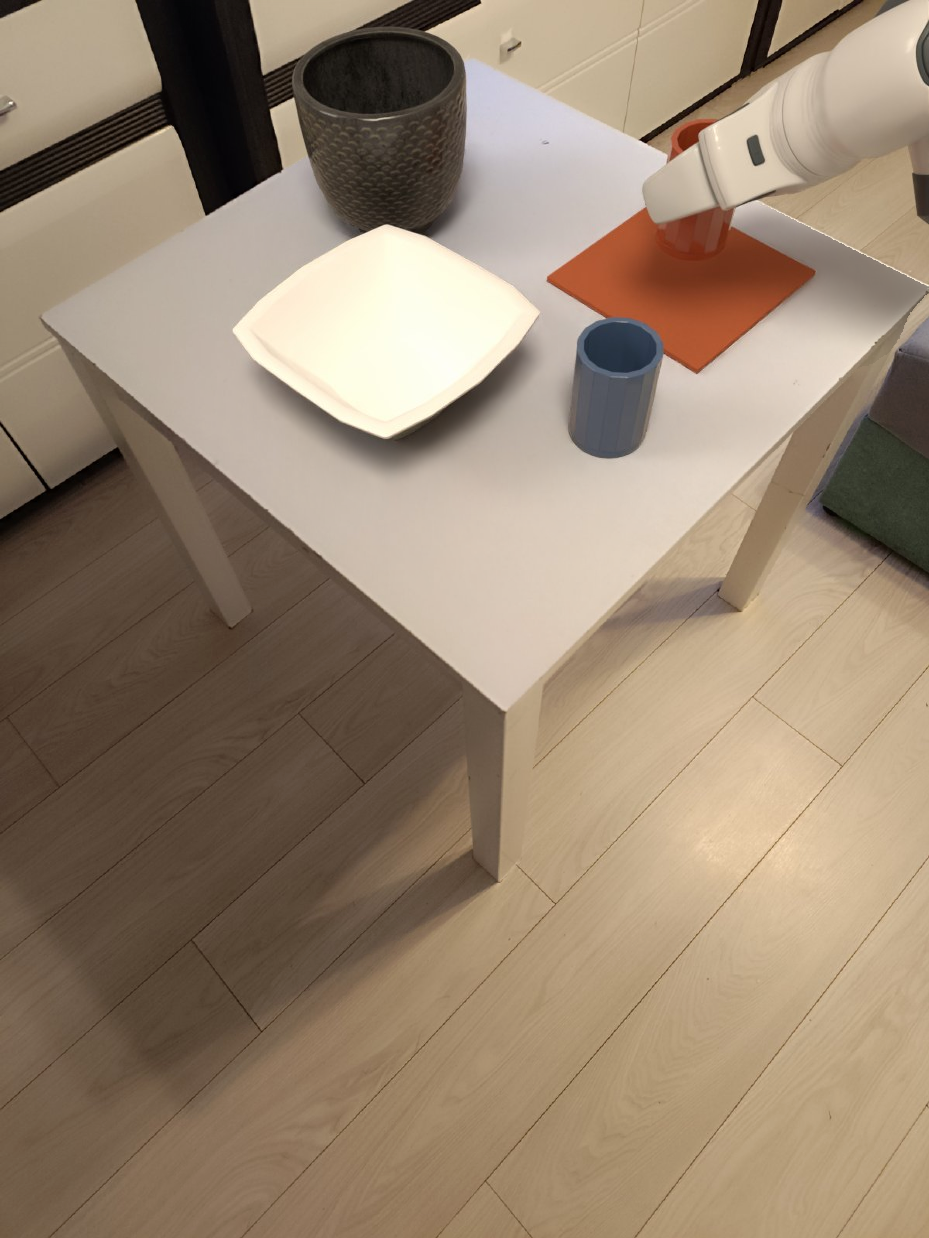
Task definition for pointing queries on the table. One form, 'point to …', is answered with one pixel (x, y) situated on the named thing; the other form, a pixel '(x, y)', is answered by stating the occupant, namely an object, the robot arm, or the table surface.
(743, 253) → the rust mat
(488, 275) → the bowl
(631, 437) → the blue cup
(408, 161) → the planter
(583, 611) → the table surface
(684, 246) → the rust cup
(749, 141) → the robot arm
